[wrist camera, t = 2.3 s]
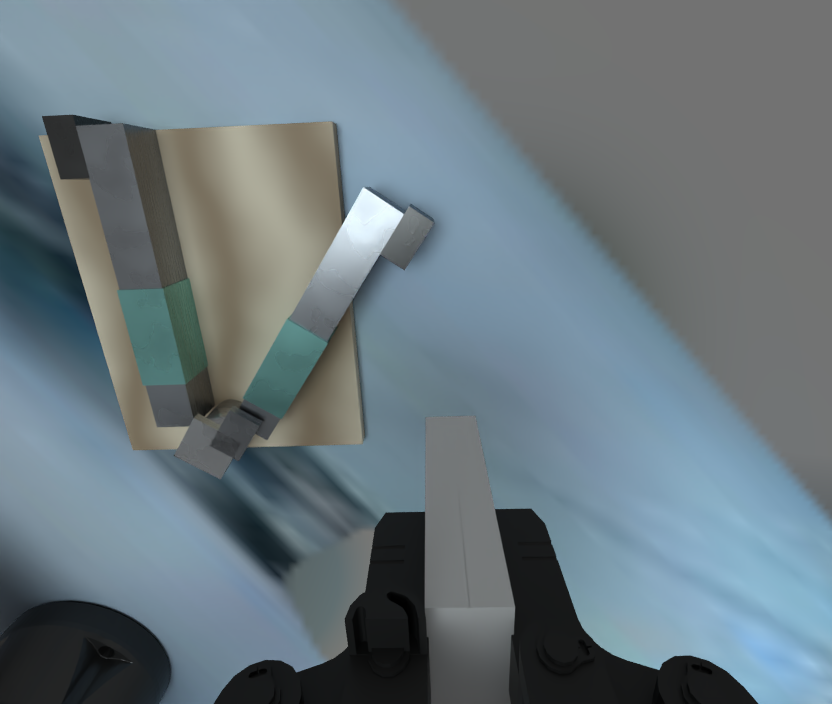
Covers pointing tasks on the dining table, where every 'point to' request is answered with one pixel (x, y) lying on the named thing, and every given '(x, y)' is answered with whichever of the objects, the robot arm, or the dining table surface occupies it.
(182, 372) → the teal-banded grey bar
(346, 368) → the board
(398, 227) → the tongs arm
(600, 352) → the dining table surface
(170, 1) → the dining table surface
